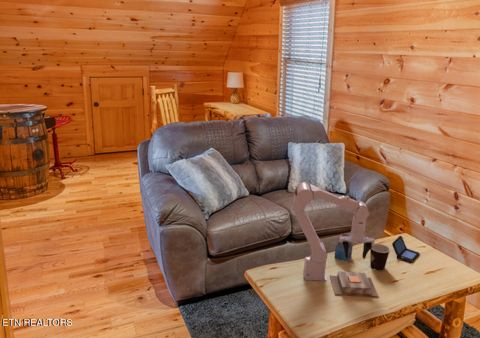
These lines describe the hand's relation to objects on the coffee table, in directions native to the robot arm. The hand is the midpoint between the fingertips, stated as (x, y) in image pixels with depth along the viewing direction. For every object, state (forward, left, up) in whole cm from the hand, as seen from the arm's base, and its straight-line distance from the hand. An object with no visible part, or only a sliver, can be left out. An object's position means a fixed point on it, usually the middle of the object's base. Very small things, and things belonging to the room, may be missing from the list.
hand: (354, 257), depth 180 cm
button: (-1, -7, -10) cm, 12 cm away
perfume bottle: (-1, +18, -11) cm, 21 cm away
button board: (-1, -7, -10) cm, 13 cm away
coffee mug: (+14, +12, -11) cm, 21 cm away
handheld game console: (+31, +23, -11) cm, 40 cm away
